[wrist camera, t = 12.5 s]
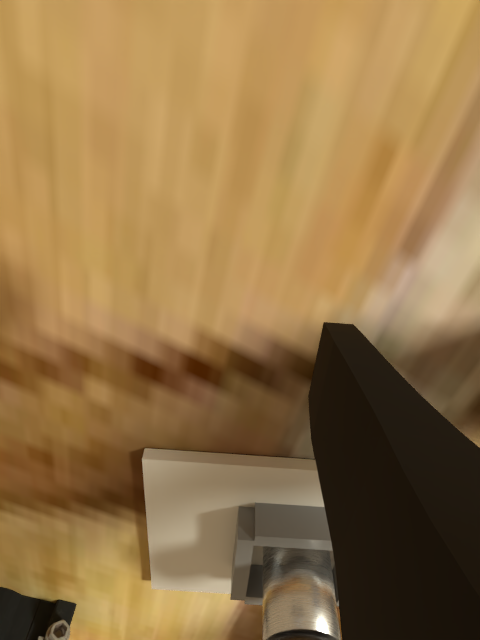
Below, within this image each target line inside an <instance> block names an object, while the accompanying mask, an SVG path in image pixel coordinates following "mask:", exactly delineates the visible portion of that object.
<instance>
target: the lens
mask: <svg viewBox="0 0 480 640" xmlns="http://www.w3.org/2000/svg"><path fill="white" fill-rule="evenodd" d="M263 640H341V636H340V628H339V620H338V612H337V605H336V597H335V589H334V581H333V574H332V566H331V558H330V551H329V550H315V549H300V548H284V547H269V546H263Z"/></svg>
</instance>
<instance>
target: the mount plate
mask: <svg viewBox="0 0 480 640" xmlns="http://www.w3.org/2000/svg"><path fill="white" fill-rule="evenodd" d="M142 466H143V479H144V492H145V506H146V519H147V532H148V545H149V558H150V571H151V584H152V589H160V590H176V591H192V592H208V593H224V594H231V600H245V604H251V605H263V546H269V547H284V548H300V549H315V550H329V551H330V558H331V566H332V574H333V581H334V589H335V597H336V605H337V606H339V599H338V589H337V579H336V570H335V562H334V555H333V549H332V543H331V537H330V532H329V527H328V522H327V517H326V512H325V507H324V502H323V497H322V492H321V487H320V482H319V477H318V471H317V466H316V461H315V460H313V459H298V458H283V457H269V456H254V455H239V454H225V453H210V452H195V451H180V450H166V449H151V448H145V449H144V453H143V457H142Z"/></svg>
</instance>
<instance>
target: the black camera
mask: <svg viewBox="0 0 480 640" xmlns="http://www.w3.org/2000/svg"><path fill="white" fill-rule="evenodd" d="M75 608H76V604H75V603H71V602H66V601H62V600H57V602H56V604H54V603H51V602H48V601H44V600H40V599H35V598H31V597H27V596H23V595H20V594H19V593H17V592H15V591H12V590H9V589H6V588H2V587H0V640H68V639H69V637H70V624H71V621H72V617H73V614H74V611H75Z"/></svg>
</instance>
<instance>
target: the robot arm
mask: <svg viewBox="0 0 480 640" xmlns="http://www.w3.org/2000/svg"><path fill="white" fill-rule="evenodd" d="M308 397H309V414H310V428H311V440H312V445H313V451H314V456H315V461H316V466H317V471H318V477H319V482H320V487H321V492H322V497H323V502H324V507H325V512H326V517H327V522H328V527H329V532H330V537H331V543H332V549H333V555H334V562H335V570H336V579H337V589H338V599H339V609H340V619H341V631H342V640H480V448H479V447H478V446H476V445H475V444H474V443H473V442H472V441H470V440H469V439H468V438H467V437H466V436H465V435H463V434H462V433H461V432H460V431H459V430H458V429H456V428H455V427H454V426H453V425H452V424H451V423H450V422H449V421H448V420H447V419H446V418H444V417H443V416H442V415H441V414H440V413H439V412H438V411H437V410H436V409H435V408H433V407H432V406H431V405H430V404H429V403H428V402H427V401H426V400H425V399H424V398H423V397H422V396H421V395H420V394H419V393H418V392H417V391H416V390H415V389H414V388H413V387H412V386H411V385H410V384H409V383H408V382H407V381H406V380H405V379H404V378H403V377H402V376H401V375H400V374H399V373H398V372H397V371H396V370H395V369H394V368H393V366H392V365H391V364H390V363H389V362H388V361H387V360H386V359H385V358H384V357H383V356H382V355H381V354H380V353H379V351H378V350H377V349H376V348H375V347H374V346H373V345H372V344H371V343H370V342H369V341H368V339H367V338H366V337H365V336H364V335H363V334H362V333H361V332H360V331H359V330H358V329H357V328H356V327H355V326H354V325H353V324H340V323H326V322H324V324H323V329H322V333H321V338H320V343H319V348H318V353H317V358H316V362H315V367H314V372H313V377H312V382H311V386H310V391H309V396H308Z"/></svg>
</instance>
